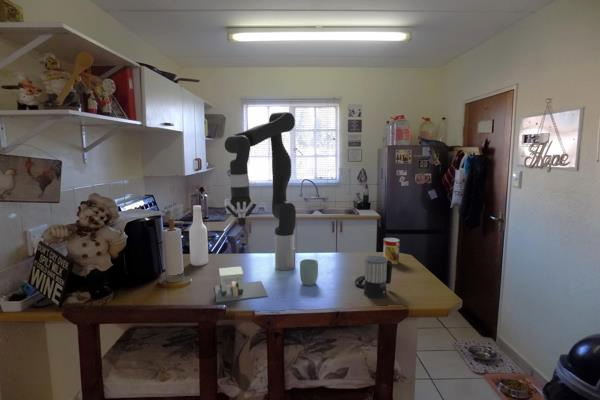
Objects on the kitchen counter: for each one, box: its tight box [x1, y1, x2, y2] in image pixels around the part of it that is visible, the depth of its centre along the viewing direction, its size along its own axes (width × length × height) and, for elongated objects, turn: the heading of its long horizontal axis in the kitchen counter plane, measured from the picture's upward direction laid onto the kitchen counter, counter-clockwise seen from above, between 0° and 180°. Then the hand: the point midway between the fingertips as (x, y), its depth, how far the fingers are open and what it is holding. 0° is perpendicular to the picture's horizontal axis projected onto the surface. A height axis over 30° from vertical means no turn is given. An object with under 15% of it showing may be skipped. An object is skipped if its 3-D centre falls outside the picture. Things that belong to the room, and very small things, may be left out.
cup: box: [299, 258, 319, 287], centre depth 151 cm, size 8×8×10 cm
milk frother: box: [354, 255, 393, 299], centre depth 144 cm, size 14×16×15 cm
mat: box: [214, 280, 269, 303], centre depth 143 cm, size 20×16×3 cm
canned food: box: [382, 237, 400, 265], centre depth 181 cm, size 8×8×12 cm
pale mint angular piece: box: [218, 266, 244, 296], centre depth 142 cm, size 9×9×9 cm
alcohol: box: [188, 204, 209, 267], centre depth 177 cm, size 9×9×30 cm
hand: (242, 226), depth 145 cm, fingers closed
